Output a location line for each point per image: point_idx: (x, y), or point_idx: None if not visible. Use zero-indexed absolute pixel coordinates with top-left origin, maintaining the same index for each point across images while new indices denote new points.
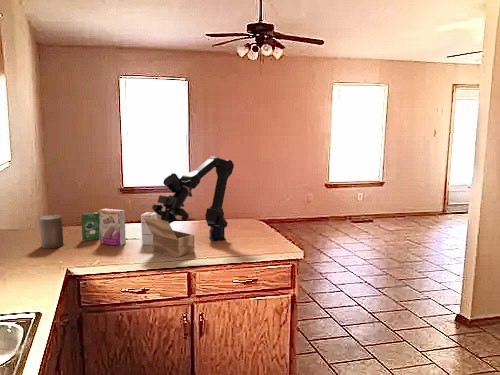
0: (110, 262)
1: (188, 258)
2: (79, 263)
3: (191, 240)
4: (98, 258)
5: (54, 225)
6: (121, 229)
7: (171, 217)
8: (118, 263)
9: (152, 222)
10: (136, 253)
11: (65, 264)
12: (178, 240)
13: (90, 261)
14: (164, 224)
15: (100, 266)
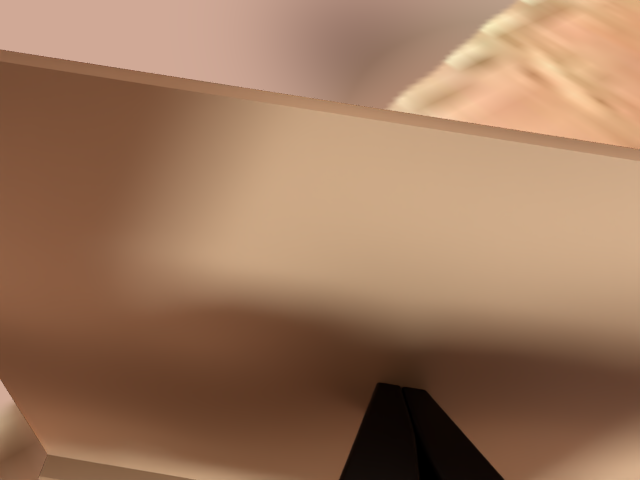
0: (496, 108)
1: (35, 473)
2: (605, 35)
3: None
4: (625, 129)
5: None
6: None
7: None
8: (441, 114)
9: (633, 309)
10: None
11: (636, 3)
12: (50, 476)
13: (599, 76)
14: (104, 202)
15: (474, 44)
